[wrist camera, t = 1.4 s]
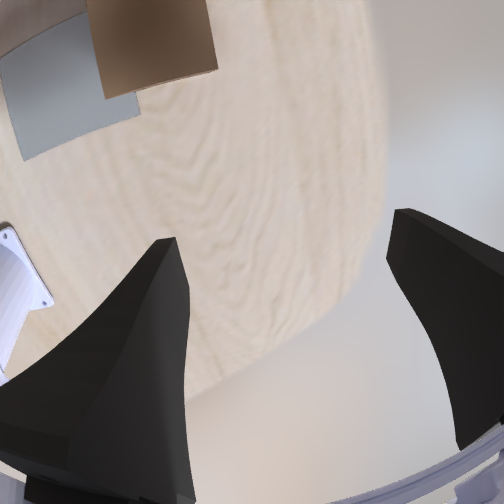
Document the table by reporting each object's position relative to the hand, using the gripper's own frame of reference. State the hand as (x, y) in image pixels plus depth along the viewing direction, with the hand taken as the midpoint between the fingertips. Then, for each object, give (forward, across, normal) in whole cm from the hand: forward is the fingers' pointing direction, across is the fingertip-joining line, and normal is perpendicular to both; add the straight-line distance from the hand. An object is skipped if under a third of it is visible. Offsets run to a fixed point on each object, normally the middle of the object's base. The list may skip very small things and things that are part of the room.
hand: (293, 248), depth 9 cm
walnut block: (+11, +4, -8) cm, 14 cm away
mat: (+10, +11, -7) cm, 17 cm away
